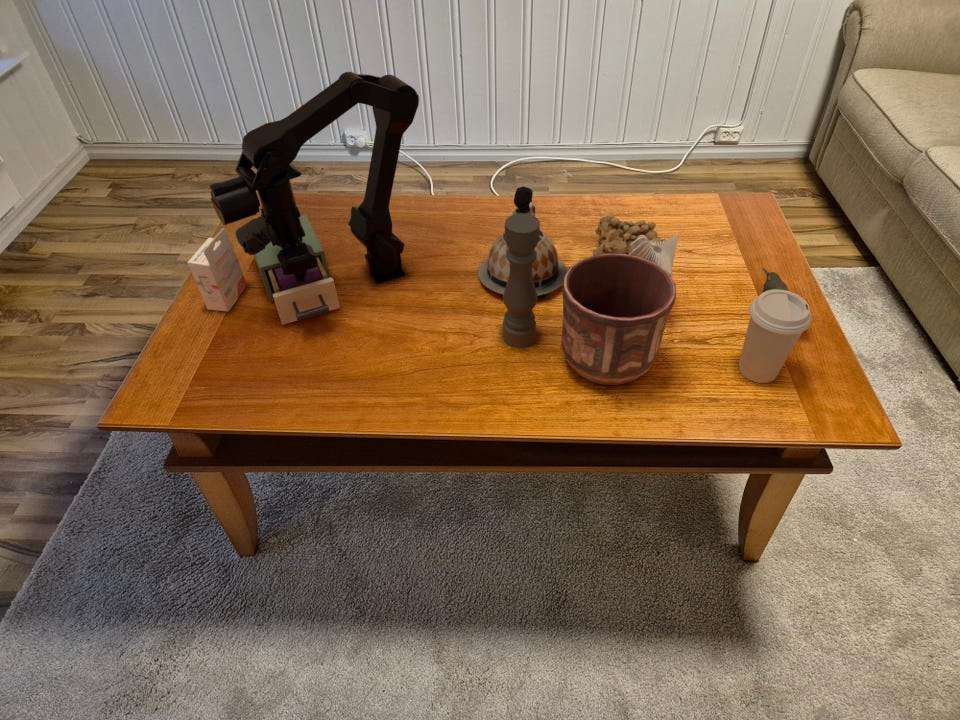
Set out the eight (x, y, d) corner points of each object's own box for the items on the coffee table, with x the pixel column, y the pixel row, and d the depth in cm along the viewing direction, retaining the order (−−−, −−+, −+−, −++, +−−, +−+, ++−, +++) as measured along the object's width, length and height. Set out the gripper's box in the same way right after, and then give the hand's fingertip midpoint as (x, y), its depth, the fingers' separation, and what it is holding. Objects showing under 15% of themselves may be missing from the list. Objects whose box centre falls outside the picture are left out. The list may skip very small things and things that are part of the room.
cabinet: (331, 285, 136) (323, 250, 130) (270, 302, 132) (259, 267, 126) (313, 247, 145) (305, 214, 139) (256, 262, 142) (245, 229, 135)
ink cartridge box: (225, 283, 137) (203, 223, 126) (247, 286, 136) (227, 225, 126) (205, 310, 131) (180, 249, 120) (228, 313, 130) (205, 251, 120)
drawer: (347, 322, 126) (341, 295, 121) (288, 340, 123) (279, 313, 118) (322, 270, 138) (315, 243, 133) (267, 285, 135) (259, 258, 130)
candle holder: (539, 329, 125) (546, 215, 107) (530, 351, 121) (535, 236, 103) (508, 322, 126) (509, 209, 109) (498, 343, 122) (498, 230, 105)
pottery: (608, 415, 109) (622, 337, 97) (537, 358, 119) (541, 280, 107) (677, 367, 117) (699, 287, 104) (605, 316, 127) (617, 239, 114)
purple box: (315, 268, 129) (313, 258, 127) (320, 279, 126) (318, 269, 125) (277, 279, 127) (274, 269, 125) (282, 290, 124) (279, 280, 123)
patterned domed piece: (499, 243, 145) (505, 159, 132) (578, 266, 140) (593, 181, 126) (463, 288, 133) (465, 200, 119) (547, 315, 128) (560, 227, 114)
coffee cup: (778, 397, 112) (807, 332, 101) (722, 376, 115) (745, 311, 105) (792, 362, 117) (821, 298, 107) (738, 344, 121) (761, 279, 110)
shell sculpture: (669, 303, 129) (687, 225, 117) (658, 329, 124) (677, 251, 111) (628, 293, 132) (641, 215, 119) (616, 318, 127) (629, 240, 114)
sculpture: (770, 276, 135) (777, 256, 131) (807, 341, 121) (816, 320, 118) (748, 277, 134) (755, 257, 131) (783, 342, 121) (791, 322, 117)
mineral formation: (595, 234, 146) (664, 236, 143) (591, 278, 139) (664, 282, 136) (596, 206, 140) (669, 208, 137) (592, 251, 132) (669, 254, 129)
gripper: (223, 189, 119) (246, 260, 130) (241, 244, 107) (266, 316, 118) (284, 175, 122) (302, 245, 133) (309, 226, 110) (326, 298, 121)
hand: (298, 275), depth 126 cm, fingers closed on purple box, 4 cm apart
